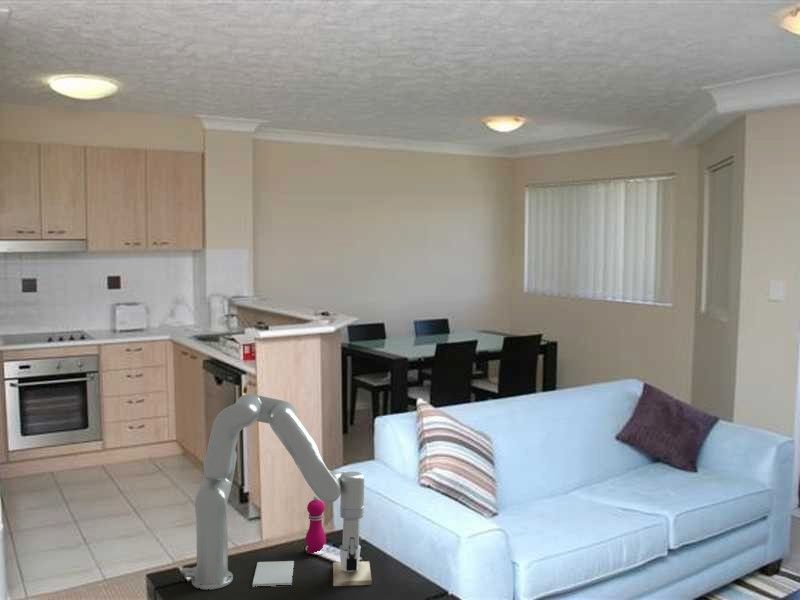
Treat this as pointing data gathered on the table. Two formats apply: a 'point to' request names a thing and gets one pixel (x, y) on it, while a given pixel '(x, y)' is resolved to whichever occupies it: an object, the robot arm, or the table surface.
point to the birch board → (352, 575)
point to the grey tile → (273, 573)
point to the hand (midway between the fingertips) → (351, 565)
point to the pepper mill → (315, 526)
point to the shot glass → (344, 557)
